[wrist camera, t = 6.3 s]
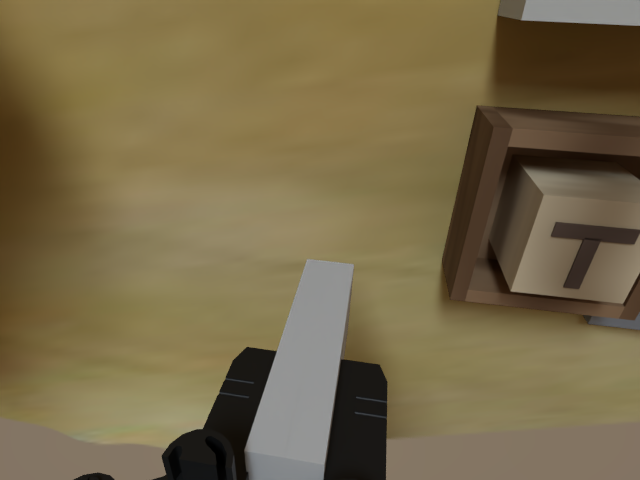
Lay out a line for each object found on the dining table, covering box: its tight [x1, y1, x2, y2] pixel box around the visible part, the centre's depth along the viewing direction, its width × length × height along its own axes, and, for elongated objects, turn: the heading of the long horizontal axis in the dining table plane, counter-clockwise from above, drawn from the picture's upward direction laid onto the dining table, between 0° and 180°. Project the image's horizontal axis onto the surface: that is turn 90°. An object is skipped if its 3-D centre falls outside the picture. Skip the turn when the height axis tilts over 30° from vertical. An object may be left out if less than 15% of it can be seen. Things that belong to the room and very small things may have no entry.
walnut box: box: [442, 106, 640, 321], centre depth 19 cm, size 8×8×4 cm
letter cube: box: [489, 154, 640, 304], centre depth 18 cm, size 4×4×5 cm
